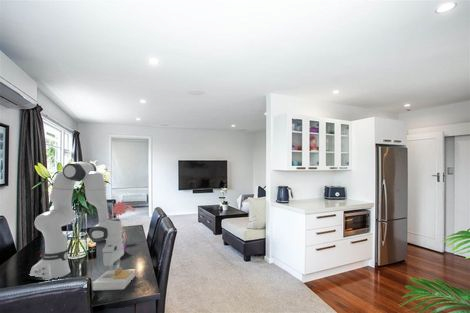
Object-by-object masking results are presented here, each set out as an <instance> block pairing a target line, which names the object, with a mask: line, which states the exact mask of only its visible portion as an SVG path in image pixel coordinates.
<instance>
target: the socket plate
mask: <svg viewBox="0 0 470 313" xmlns="http://www.w3.org/2000/svg"><path fill="white" fill-rule="evenodd" d="M127 270H133V272H132V273H131V274H130V275H129V276H128V277H127V278H120V279H113V277H114V276H115V271H116V270H110V269H108V270H106V271H105V272H103V273H102V274H101V276H98V277H97V279H95V280H93V282H92V291H112V290H113V291H115V290H125V289H126V288H127V286H128V285H129V284H130V283H131V280H132V281H133V280H134V278H135V277H136V269H135V268H134V269H133V268H131V269H130V268H129V269H127Z"/></svg>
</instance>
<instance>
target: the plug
mask: <svg viewBox="0 0 470 313" xmlns="http://www.w3.org/2000/svg"><path fill="white" fill-rule="evenodd" d="M120 263H121V259H120V260H116V261H115V262H114V263H113V267H114V270H117V269H118V268H119V267H120Z"/></svg>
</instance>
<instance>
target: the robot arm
mask: <svg viewBox="0 0 470 313" xmlns="http://www.w3.org/2000/svg"><path fill="white" fill-rule="evenodd" d="M104 178H105V177H104V175H103V173H102V172H99V171H97V167H96V165H95V164H94V163H93V162H88V161H74V162H69V163H67V164H65V165H64V166H63V168H62V170H58V172H57V173H56V176H55V178H54V180H53V184H52V187H51V192H50V196H49V201H50V202H51V203H53V209H52V210H48V211H44V212H42V213H41V214H39V215H37V216H36V217H35V220H34V223H33V225H34V227H35V229H37V230H38V231H39V232H41V233H42V236H43V239H44V249H45V250H44V253H42V254H41V255H40V257H42V258H41V259H40V260H38V262H37V263H36V264H34V265H32V267H31V270H30V272H29V275H30V276H35V277H42V278H43V279H44V278H46V279H45V280H48V281H50V280H49V279H52V278H55V279H59V278H62V277H65V276H67V275H68V274H70V273H71V269H70V265H69V260H68V259H69V249H68V236H67V235H66V233H63V230H62V227H65V226H67V225H69V224H70V223H72V222H73V221H74V220H76V211H75V210H74V209H73V206H72V198H73V193H74V189H75V184H76V182H82V183H83V184H84V192H85V194H84V195H85V198H86V201H87V203H88V204H90V205H92V206H94V207H95V208H96V211H97V216H98V217H97V218H98V223H97V224H95V225H94V226H92V227H91V228H90V229H89V231H88V238H89V239H90V240H91V241H92V242H100V241H104V240H105V244H104V247H103V248H102V253H103V254H102V259H103V260H102V263H103V266H104V267H108V268H109V270H114V267H113V263H114V262H115V261H116V260H120V261H121V257H123V256H124V254H125V252H124V246H123V244H122V236H121V234H122V230H123V224H122V220H121V219H120V218H119V219H118V217H111V216H110V214H109V213H110V211H109V205H108V204H109V203H108V200H107V190H106V183H105V179H104ZM58 277H59V278H58ZM52 280H53V279H52ZM48 281H47V282H48Z"/></svg>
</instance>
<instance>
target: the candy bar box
mask: <svg viewBox="0 0 470 313" xmlns="http://www.w3.org/2000/svg"><path fill="white" fill-rule="evenodd" d="M126 233H127V232H126V229H122V234H121V236H122V244H123V246H124V253H125V252H126V251H127V250H126V248H127V247H126V244H127V241H126V240H127V239H126V236H127V234H126Z"/></svg>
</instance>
